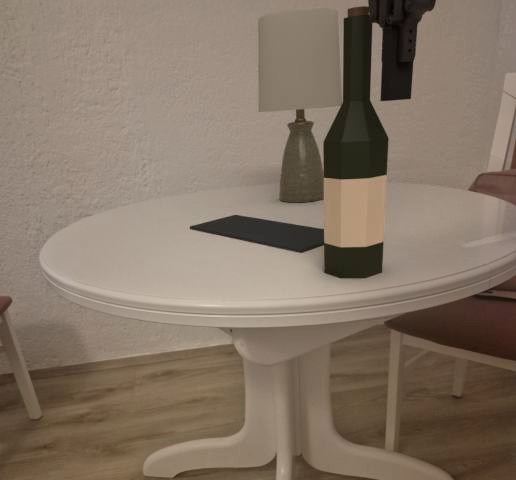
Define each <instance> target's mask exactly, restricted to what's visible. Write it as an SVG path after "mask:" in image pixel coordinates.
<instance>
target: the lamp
mask: <svg viewBox="0 0 516 480" xmlns="http://www.w3.org/2000/svg"><path fill="white" fill-rule="evenodd" d="M257 23H258V24H257V26H258V27H257V28H258V29H257V32H258V33H257V34H258V35H257V37H258V39H257V41H258V44H257V45H258V53H257V55H258V59H257V60H258V61H257V62H258V112H262V113H263V112H264V113H265V112H282V111H295V119H294V121H291V122H288V123H287V124H286V126H287V128H288V130H289V134H288V137H287V140H286V142H285V145H284V149H283V154H282V160H281V168H280V179H279V194H278V197H279V200H280V201H282V202H286V203H310V202H316V201H320V200H324V169H323V163H322V162H323V161H322V157H321V153H320V150H319V146H318V144H317V143H318V142H317V141H316V139H315V136H314V134H313V131H312V129H313V127H314V125H315V122H314V121H312V120H307V119H306V117H305V114H306V113H305V110H308V109H309V110H311V109H323V108H332V107H333V108H334V107H341V105H342V103H343V88H342V73H341V71H342V70H341V69H342V68H341V54H340V52H341V51H340V50H341V49H340V29H339V12H338V10H337V9H335V8H330V7H304V8H291V9H285V10H279V11H273V12H270V13H266V14H263V15H261V16H259V17H258V21H257Z"/></svg>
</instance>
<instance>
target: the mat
mask: <svg viewBox="0 0 516 480" xmlns="http://www.w3.org/2000/svg"><path fill="white" fill-rule="evenodd" d="M189 229H190V230H194V231H198V232H203V233H209V234H213V235H218V236H223V237H227V238H231V239H235V240H236V239H237V240H241V241H245V242H250V243H255V244H260V245H264V246H269V247H274V248H277V249H283V250H287V251H292V252H298V253H305V252H307V251H310V250H312V249H315V248H318V247H321V246H324V228H320V227H313V226H307V225H301V224H296V223H289V222H283V221H276V220H271V219H264V218H259V217H253V216H245V215H239V214H232V215H229V216H225V217H220V218H217V219H213V220H208V221H205V222H201V223H197V224H194V225H190V226H189Z"/></svg>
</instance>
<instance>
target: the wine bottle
mask: <svg viewBox="0 0 516 480" xmlns="http://www.w3.org/2000/svg"><path fill="white" fill-rule="evenodd" d="M342 35H343V46H342V47H343V51H342V54H343V55H342V62H343V63H342V105H341V106H339V109H338V111H337V112H336V115H335V118H334V119H333V122H332V123H331V126H330V128H329V129H328V131H327V134H326V136H325V137H324V140H323V141H322V142H323V144H322V145H323V153H322V155H323V156H322V157H323V176H324V198H323V229H324V245H323V264H324V265H323V267H324V268H323V269H324V271H323V272H324V274H327V275H329V276H332V277H335V278H339V279H367V278H369V277H372V276H375V275H378V274H382V273H383V262H384V261H383V260H384V242H385V241H384V239H385V222H386V221H385V220H386V219H385V218H386V201H387V182H388V181H387V179H388V178H387V176H388V157H389V136H388V133H387V132H386V130H385V128H384V125H383V123H382V122H381V119H380V118H379V116H378V114H377V111H376V109H375V107H374V105H373V103H372V100H371V82H372V81H371V79H372V55H373V54H372V51H373V23H371V22H370V17H369V6H367V5H364V6H363V5H362V6H361V5H360V6H354V7H350V8H347V16H346V17H344V18H343V34H342Z"/></svg>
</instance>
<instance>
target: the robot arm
mask: <svg viewBox="0 0 516 480" xmlns="http://www.w3.org/2000/svg"><path fill="white" fill-rule="evenodd" d="M436 2H437V0H367V3H368V7H369V17H370V22H371V23H372V24H376V25H378V26H379V28H381V30H382V33H381V34H382V37H381V40H382V41H381V58H380V59H381V76H380V77H381V80H380V100H379V101H380V102H391V101H405V100H412V90H413V89H412V87H413V75H414V74H413V73H414V61H415V58H416V54H417V53H416V51H417V49H416V48H417V37H418V27H419V26H418V25H419V23H420V22H421V21H422V18H423V15H425V14H426V13H427V12H432V11H433V10H434V9H435V6H436Z"/></svg>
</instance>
